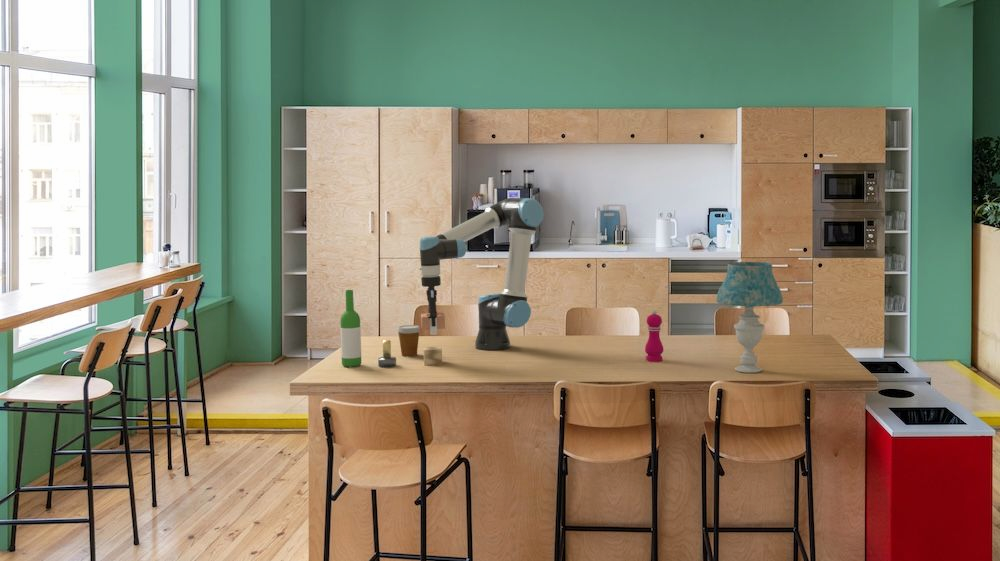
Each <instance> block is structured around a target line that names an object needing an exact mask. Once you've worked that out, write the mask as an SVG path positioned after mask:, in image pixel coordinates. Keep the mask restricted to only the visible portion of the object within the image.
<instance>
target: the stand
mask: <svg viewBox="0 0 1000 561" xmlns="http://www.w3.org/2000/svg"><path fill="white" fill-rule="evenodd" d="M423 364H424V366H435V365H437V366H438V365H439V364H442V365H443V349H442V346H423Z"/></svg>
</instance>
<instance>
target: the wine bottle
mask: <svg viewBox="0 0 1000 561" xmlns="http://www.w3.org/2000/svg"><path fill="white" fill-rule="evenodd" d="M354 307H355V305H354V290H353V289H346V290H345V311H344V312H342V315H341V316H340V318H339V319H340V350H341V352H340V354H341V365H342V366H343V367H345V366H347V367H346V368H355V367H354V366H356V367H359V366H361V365H362V338H361V336H362V334H361V330H362V329H361V318H360V317H361V316H360V315H359V314H358V312H357V311H355V308H354Z"/></svg>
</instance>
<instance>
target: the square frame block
mask: <svg viewBox="0 0 1000 561" xmlns="http://www.w3.org/2000/svg"><path fill="white" fill-rule="evenodd" d="M436 315H437V317H436V318H437V330H444V329H446V321H445V320H446V318H445V317H446V316H445V313H444V312H437V313H436ZM428 316H430V313H429V312H427V313H425V312H424V313H420V323H421V324H420V326H421V330H423V331H425V330H426V331H428V330H429V331H430V318H428Z"/></svg>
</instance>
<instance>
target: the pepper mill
mask: <svg viewBox="0 0 1000 561" xmlns="http://www.w3.org/2000/svg"><path fill="white" fill-rule="evenodd" d="M646 323H647V325H648V326H647V331H648V333H649V334H648V340H647V342H646V344H645V346H644V351H645V353H646V354H647V355H646V356H645V360H646V362H648V363H649V362H650V363H659V362H663V356H662V354H663V353H664V345H663V343H662V341H661V338H660V331H661V328H662V327H661V325H662V323H663V319H662V316H661V315H659V314H657V310H652V312H651V314H649V315H647V318H646Z"/></svg>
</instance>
